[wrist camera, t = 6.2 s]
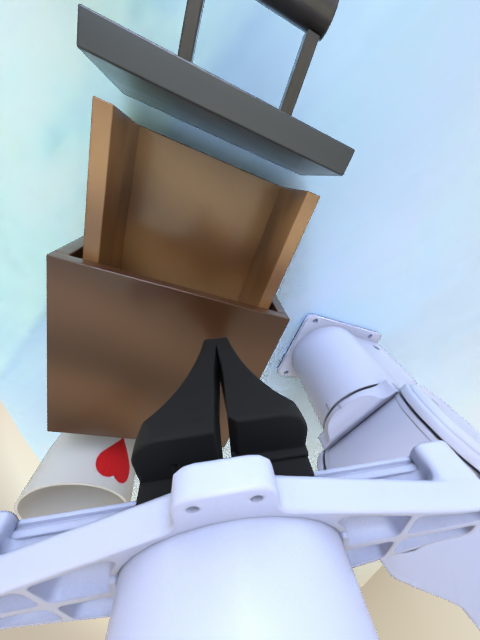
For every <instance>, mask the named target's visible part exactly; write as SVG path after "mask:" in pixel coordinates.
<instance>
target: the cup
mask: <svg viewBox="0 0 480 640" xmlns="http://www.w3.org/2000/svg"><path fill="white" fill-rule="evenodd" d="M135 440H136V439H128V438H117V437H106V436H95V435H84V434H73V433H62V434H61V435H60V436H59V437H58V439H57V440H56V441H55V442H54V444H53V445H52V446H51V448H50V449H49V451H48V452H47V454H46V455H45V457H44V458H43V460H42V462H41V463H40V465H39V466H38V468H37V469H36V471H35V473H34V474H33V476H32V477H31V479H30V481H29V482H28V484H27V485H26V487H25V488H24V490H23V491H22V493H21V495H20V496H19V498H18V499H17V501H16V502H15V505H14V511H15V513H16V515H17V516H18V517H19V519H21V520H22V519H28V518H34V517H40V516H46V515H52V514H58V513H64V512H71V511H77V510H83V509H89V508H95V507H101V506H107V505H113V504H119V503H125V502H130V501H131V495H132V489H133V483H134V477H135V470H134V468H133V466H132V463H131V457H132V452H133V448H134V444H135Z"/></svg>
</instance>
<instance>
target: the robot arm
mask: <svg viewBox="0 0 480 640" xmlns="http://www.w3.org/2000/svg"><path fill="white" fill-rule="evenodd" d="M314 319H316V321H313V320H314ZM369 334H370V335H369ZM368 335H369V336H368ZM380 338H381V335H380V334H379V333H378V332H374V331H371V330H367V329H363V328H360V327H356V326H353V325H349V324H346V323H342V322H339V321H335V320H331V319H328V318H324V317H321V316H317V315H314V314H309V315H307V316H306V318H305V320H304V322H303V323H302V325H301V327H300V329H299V331H298V333H297V334H296V336H295V338H294V340H293V342H292V344H291V345H290V347H289V349H288V351H287V353H286V355H285V356H284V358H283V360H282V362H281V364H280V365H279V367H278V369H277V371H278V373H279V374H280V375H286V376H291V377H296V378H299V379H300V381H301V384H302V386H303V388H304V390H305V392H306V394H307V396H308V398H309V400H310V403H311V405H312V407H313V409H314V411H315V413H316V415H317V417H318V419H319V422H320V424H321V426H322V428H323V432H322V433H321V434H320V435H319V437H318V438H319V440H320V442H321V444H322V447H323V449H324V450H323V451H322V452H321V453H320V454H319V456H318V460H317V468H318V471H314V472H313V470H312V467H311V464H310V462H309V459H308V451H307V448H306V446H305V443H306V436H307V424H306V422H305V419H304V417H303V416H302V414H301V412H300V410H299V409H298V407H297V406H296V404H295V403H294V402H293V401H292V400H290V399H288V398H286V397H284V396H282V395H280V394H279V393H277V392H275V391H274V390H272V389H271V388H270V387H268V386H267V385H266V384H264V383H263V382H262V381H261V380H260V379H258V378H257V377H256V376H255V375H254V374H253V373H252V372H251V371H250V370H249V369H248V368H247V367H246V365H245V364H244V363H243V362H242V361H241V359H240V358H239V356H238V355H237V354H236V352H235V351H234V349H233V347H232V346H231V344H230V342H229V339H228V338H227V337H223V338H214V339H205V340H204V341H203V345H202V348H201V351H200V353H199V355H198V357H197V359H196V362H195V364H194V365H193V367H192V369H191V371H190V372H189V374H188V376H187V377H186V379H185V380H184V381H183V383H182V384H181V386H180V387H179V388H178V389H177V391H176V392H175V393H174V394H173V395H172V396H171V398H170V399H169V400H168V401H167V402H166V403H165V404H164V405H163V406H162V407H161V408H160V409H159V410H157V411H156V412H155V413H154V414H153V415H151V416H150V417H149V418H148V419H147V420H145V421H144V422H143V423H142V425H141V428H140V430H139V432H138V435H137V437H136V440H135V444H134V448H133V452H132V457H131V463H132V466H133V468H134V470H135V472H136V474H137V476H138V478H139V481H140V486H139V491H138V496H137V501H131V502H125V503H119V504H113V505H107V506H101V507H95V508H89V509H83V510H77V511H71V512H64V513H58V514H52V515H46V516H40V517H34V518H28V519H22V520H19V519H18V517H17V516H16V515H15V514H14V513H12V512H10V511H0V630H2V629H9V628H15V627H23V626H31V625H40V624H49V623H59V622H67V621H77V620H86V619H96V618H105V617H110V619H109V624H108V629H107V634H106V639H105V640H379V638H378V635H377V632H376V630H375V627H374V625H373V622H372V619H371V617H370V614H369V611H368V609H367V606H366V603H365V601H364V598H363V596H362V593H361V591H360V588H359V585H358V582H357V580H356V577H355V574H354V572H353V569H352V568H355V567H358V566H361V565H364V564H367V563H371V562H374V561H377V560H380V561H381V562H382V564H383V565H384V566H385V568H386V569H387V571H388V572H389V574H390V575H391V576H392V577H393V578H395V579H397V580H399V581H401V582H403V583H406V584H408V585H410V586H412V587H415V588H417V589H420V590H422V591H425V592H427V593H430V594H432V595H435V596H437V597H440V598H442V599H445V600H447V601H449V602H451V603H453V604H456V605H457V606H459V607H461V608H462V609H463V610H464V611H465V613H466V614H467V615H468V616H469V618H470V619H471V620H472V622H473V623H474V624H475V625H476V627H477V628H478V629H479V630H480V433H479V432H478V431H477V430H476V429H475V428H474V427H472V426H471V425H470V424H469V423H468V422H467V421H466V420H465V419H464V418H463V417H461V416H460V415H459V414H458V413H457V412H456V411H454V410H453V409H452V408H451V407H450V406H449V405H447V404H446V403H445V402H444V401H442V400H441V399H440V398H439V397H437V396H436V395H435V394H433V393H432V392H431V391H429V390H428V389H426V388H425V387H423V386H421V385H417V383H416V381H415V380H414V378H413V377H412V376H411V375H410V374H409V373H408V372H407V371H406V370H405V369H404V368H403V367H402V366H401V365H399V364H398V363H397V362H396V361H395V360H394V359H393V358H392V357H391V356H390V355H389V354H388V353H387V352H386V351H385V350H384V349H383V348H382V347H381V346H380V345H379V344H378V341H379V340H380ZM285 371H286V372H285ZM220 382H221V387H222V392H223V397H224V402H225V407H226V412H227V419H228V428H229V438H230V447H231V458H224V459H223V455H222V442H221V430H220Z"/></svg>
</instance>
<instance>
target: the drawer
mask: <svg viewBox="0 0 480 640" xmlns="http://www.w3.org/2000/svg"><path fill="white" fill-rule="evenodd" d="M256 1H257V2H259V3H260V4H262V5H263V6H265V7H267V8H268V9H270V10H271V11H273V12H274V13H276V14H277V15H279V16H280V17H282V18H283V19H285V20H286V21H288V22H290V23H291V24H293V25H294V26H296V27H297V28H299V29H300V30H302V31H303V32H305V34H304V36H303V39H302V42H301V45H300V48H299V51H298V54H297V57H296V60H295V63H294V66H293V69H292V72H291V74H290V77H289V80H288V83H287V86H286V89H285V92H284V95H283V98H282V101H281V104H280V107H279V109H277V108H275V107H273V106H272V105H270V104H268V103H266V102H264V101H262V100H260V99H258V98H257V97H255V96H253V95H251V94H249V93H247V92H245V91H243V90H242V89H240V88H238V87H236V86H234V85H232V84H230V83H228V82H226V81H225V80H223V79H221V78H219V77H217V76H215V75H213V74H211V73H210V72H208V71H206V70H204V69H202V68H200V67H198V66H196V65H195V64H193V58H194V52H195V47H196V42H197V37H198V32H199V27H200V22H201V17H202V12H203V7H204V2H205V0H187V5H186V11H185V16H184V22H183V28H182V33H181V39H180V45H179V50H178V55H176V54H174V53H172V52H170V51H168V50H166V49H164V48H163V47H161V46H159V45H157V44H155V43H153V42H151V41H149V40H148V39H146V38H144V37H142V36H140V35H138V34H136V33H134V32H133V31H131V30H129V29H127V28H125V27H123V26H121V25H119V24H118V23H116V22H114V21H112V20H110V19H108V18H106V17H104V16H102V15H101V14H99V13H97V12H95V11H93V10H91V9H89V8H87V7H86V6H84V5H82V4H79V5H78V24H77V47H78V48H79V49H80V50H81V51H82V52H83V53H84V54H85V55H86V56H87V57H88V58H89V59H90V60H91V61H92V62H93V63H94V64H95V65H96V66H97V67H98V68H99V69H100V70H101V71H102V72H103V73H104V75H105V76H106V77H107V78H108V79H109V80H110V81H111V82H112V83H113V84H114V85H115V86H116V87H117V88H118V89H119V90H120V91H121V92H122V93H123V94H125V95H127V96H130V97H132V98H134V99H136V100H138V101H140V102H143V103H145V104H147V105H149V106H151V107H154V108H156V109H158V110H160V111H162V112H164V113H167V114H169V115H171V116H173V117H175V118H177V119H180V120H182V121H184V122H186V123H188V124H190V125H193V126H195V127H197V128H199V129H201V130H203V131H206V132H208V133H210V134H212V135H214V136H216V137H219V138H221V139H223V140H225V141H227V142H230V143H232V144H234V145H236V146H238V147H240V148H243V149H245V150H247V151H249V152H251V153H253V154H256V155H258V156H260V157H262V158H264V159H266V160H269V161H271V162H273V163H275V164H277V165H279V166H282V167H284V168H286V169H288V170H290V171H292V172H295V173H297V174H299V175H316V176H342V175H343V174H344V172H345V170H346V168H347V166H348V164H349V162H350V160H351V158H352V156H353V153H354V151H355V150H354V149H352V148H350V147H349V146H347V145H345V144H343V143H341V142H339V141H337V140H335V139H334V138H332V137H330V136H328V135H326V134H324V133H322V132H320V131H319V130H317V129H315V128H313V127H311V126H309V125H307V124H305V123H304V122H302V121H300V120H298V119H296V118H294V117H292V116H291V115H292V112H293V109H294V106H295V104H296V101H297V98H298V95H299V93H300V90H301V87H302V84H303V81H304V79H305V76H306V73H307V70H308V68H309V65H310V62H311V59H312V57H313V54H314V51H315V48H316V45H317V43H318V41H321V40H322V38H323V37H324V35H325V34H326V32H327V30H328V28H329V26H330V24H331V22H332V20H333V17H334V15H335V12H336V9H337V6H338V3H339V0H256ZM319 198H320V196H318V195H316V194H313V193H311V192H309V191H304V190H297V189H291V188H285V187H281V186H278V185H276V184H274V183H272V182H269V181H267V180H265V179H262V178H260V177H258V176H255V175H253V174H251V173H249V172H246V171H244V170H242V169H239V168H237V167H235V166H232V165H230V164H228V163H226V162H223V161H221V160H219V159H216V158H214V157H212V156H209V155H207V154H205V153H203V152H200V151H198V150H196V149H193V148H191V147H189V146H186V145H184V144H182V143H179V142H177V141H175V140H173V139H170V138H168V137H166V136H163V135H161V134H159V133H156V132H154V131H152V130H150V129H147V128H145V127H143V126H140V125H138V124H137V123H136V122H135V121H133V120H132V119H131V118H130V117H128V116H127V115H126V114H124V113H123V112H122V111H121V110H119V109H118V108H117V107H115V106H114V105H113V104H111V103H109V102H106V101H104V100H102V99H99V98H97V97H95V96H93V102H92V118H91V134H90V149H89V165H88V181H87V197H86V213H85V228H84V244H83V259H84V260H88V261H92V262H95V263H99V264H103V265H106V266H110V267H114V268H117V269H121V270H125V271H128V272H132V273H136V274H139V275H143V276H147V277H150V278H154V279H158V280H161V281H165V282H169V283H173V284H176V285H180V286H184V287H187V288H191V289H195V290H198V291H202V292H206V293H209V294H213V295H217V296H220V297H224V298H228V299H231V300H235V301H239V302H242V303H246V304H250V305H253V306H257V307H261V308H264V309H269V307H270V305H271V303H272V300H273V298H274V296H275V294H276V292H277V290H278V287H279V285H280V283H281V281H282V279H283V277H284V274H285V272H286V270H287V268H288V266H289V263H290V261H291V259H292V257H293V255H294V253H295V250H296V248H297V246H298V244H299V242H300V240H301V237H302V235H303V233H304V231H305V229H306V226H307V224H308V222H309V220H310V218H311V216H312V213H313V211H314V209H315V207H316V205H317V203H318V200H319Z"/></svg>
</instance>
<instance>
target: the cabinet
mask: <svg viewBox="0 0 480 640" xmlns="http://www.w3.org/2000/svg"><path fill="white" fill-rule="evenodd" d="M83 244H84V236H82V237H80V238H78V239H77V240H75V241H73V242H71V243H69V244H67V245H65V246H63V247H61V248H59V249H57V250H55V251H53V252H51V253H49V254H47V431H52V432H62V433H73V434H84V435H95V436H106V437H117V438H128V439H136V437H137V435H138V432H139V430H140V428H141V425H142V423H143V422H144V421H145V420H147V419H148V418H149V417H150V416H151V415H153V414H154V413H155V412H156V411H157V410H159V409H160V408H161V407H162V406H163V405H164V404H165V403H166V402H167V401H168V400H169V399H170V398H171V396H172V395H173V394H174V393H175V392H176V391H177V389H178V388H179V387H180V386H181V384H182V383H183V381H184V380H185V379H186V377H187V376H188V374H189V372H190V371H191V369H192V367H193V365H194V364H195V362H196V359H197V357H198V355H199V353H200V351H201V348H202V345H203V341H204V340H205V339H214V338H223V337H227V338H228V339H229V342H230V344H231V346H232V347H233V349H234V351H235V352H236V354H237V355H238V356H239V358H240V359H241V361H242V362H243V363H244V364H245V365H246V367H247V368H248V369H249V370H250V371H251V372H252V373H253V374H254V375H255V376H256V377H257V378H258V379H260V377H261V375H262V373H263V371H264V369H265V367H266V365H267V363H268V361H269V359H270V357H271V355H272V353H273V351H274V350H275V348H276V346H277V344H278V342H279V340H280V338H281V336H282V334H283V332H284V330H285V328H286V326H287V324H288V322H289V320H290V319H289V317H288V316H287V314H286V312H285V311H284V309H283V307H282V306H281V304H280V302H279V301H278V299H277V297H276V296H274V298H273V300H272V303H271V305H270V307H269V309H264V308H261V307H257V306H253V305H250V304H246V303H242V302H239V301H235V300H231V299H228V298H224V297H220V296H217V295H213V294H209V293H206V292H202V291H198V290H195V289H191V288H187V287H184V286H180V285H176V284H173V283H169V282H165V281H161V280H158V279H154V278H150V277H147V276H143V275H139V274H136V273H132V272H128V271H125V270H121V269H117V268H114V267H110V266H106V265H103V264H99V263H95V262H92V261H88V260H84V259H83ZM220 430H221V442H222V447H225V445H226V443H227V441H228V439H229V428H228V419H227V412H226V407H225V402H224V397H223V392H222V387H221V382H220Z"/></svg>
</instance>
